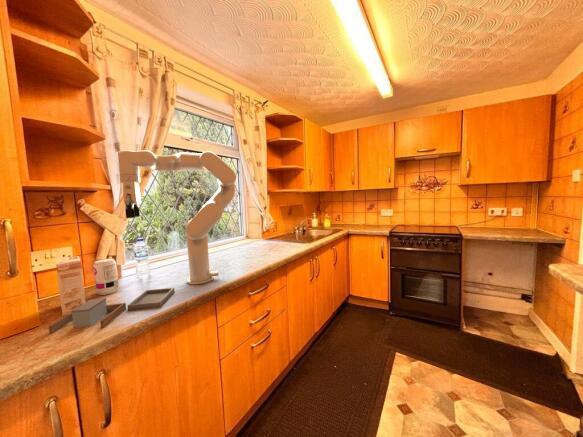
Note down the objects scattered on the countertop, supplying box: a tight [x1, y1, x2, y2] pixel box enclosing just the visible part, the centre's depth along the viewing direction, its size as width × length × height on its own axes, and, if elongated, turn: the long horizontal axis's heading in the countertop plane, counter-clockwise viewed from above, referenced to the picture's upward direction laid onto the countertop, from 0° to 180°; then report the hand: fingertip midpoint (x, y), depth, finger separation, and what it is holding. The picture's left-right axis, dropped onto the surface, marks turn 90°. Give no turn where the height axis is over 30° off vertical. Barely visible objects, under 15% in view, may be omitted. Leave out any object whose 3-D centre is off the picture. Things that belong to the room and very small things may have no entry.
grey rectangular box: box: [71, 297, 108, 329], centre depth 83 cm, size 5×9×6 cm, turn 8°
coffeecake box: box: [55, 255, 87, 317], centre depth 94 cm, size 15×7×20 cm, turn 45°
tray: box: [126, 287, 175, 312], centre depth 98 cm, size 12×16×2 cm
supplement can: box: [92, 258, 120, 296], centre depth 110 cm, size 8×8×15 cm
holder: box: [48, 302, 127, 335], centre depth 83 cm, size 16×14×2 cm
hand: (133, 217), depth 108 cm, fingers open, 9 cm apart
